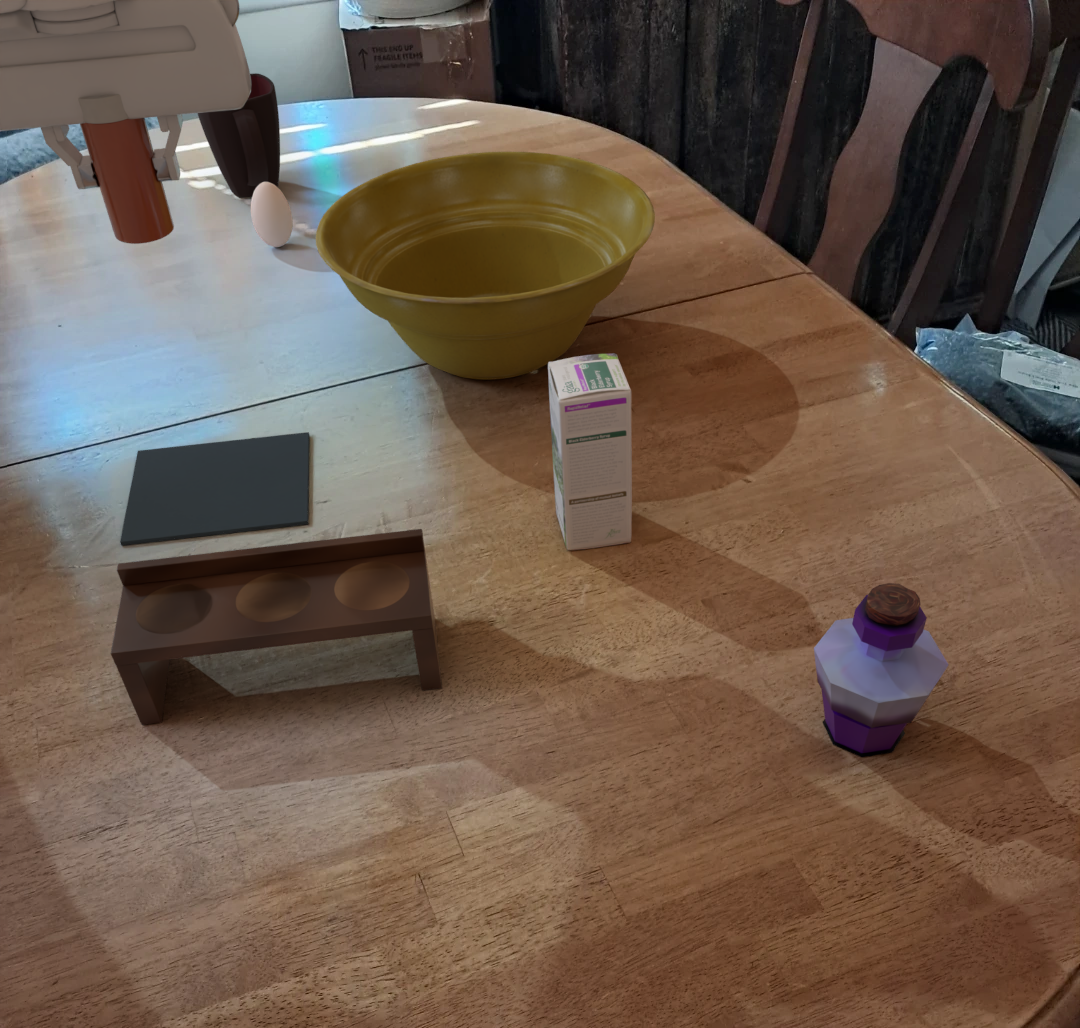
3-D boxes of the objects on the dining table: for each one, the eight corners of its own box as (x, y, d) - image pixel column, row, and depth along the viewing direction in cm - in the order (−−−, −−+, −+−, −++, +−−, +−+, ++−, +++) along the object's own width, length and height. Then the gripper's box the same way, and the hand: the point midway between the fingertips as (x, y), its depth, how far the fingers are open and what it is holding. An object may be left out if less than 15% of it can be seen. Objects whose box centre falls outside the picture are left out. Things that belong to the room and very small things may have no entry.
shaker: (110, 247, 85) (63, 101, 78) (117, 221, 88) (73, 78, 81) (172, 241, 85) (132, 95, 78) (178, 215, 88) (139, 72, 81)
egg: (271, 235, 140) (257, 172, 134) (304, 239, 138) (292, 176, 133) (251, 252, 137) (236, 188, 131) (285, 256, 135) (271, 193, 130)
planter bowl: (398, 467, 105) (377, 330, 95) (301, 315, 125) (275, 189, 115) (708, 380, 113) (718, 245, 103) (569, 250, 133) (566, 128, 124)
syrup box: (633, 543, 96) (636, 387, 85) (563, 553, 95) (558, 397, 85) (619, 503, 100) (620, 349, 89) (551, 512, 99) (545, 358, 89)
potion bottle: (927, 692, 83) (965, 561, 74) (927, 782, 77) (968, 652, 68) (805, 677, 84) (828, 546, 76) (796, 764, 79) (819, 634, 70)
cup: (284, 167, 154) (265, 69, 145) (307, 207, 145) (287, 105, 136) (210, 181, 152) (186, 82, 143) (228, 222, 143) (204, 119, 134)
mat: (121, 545, 98) (119, 542, 98) (138, 454, 108) (137, 450, 108) (308, 524, 99) (307, 520, 99) (309, 435, 109) (308, 431, 109)
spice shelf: (141, 725, 84) (103, 637, 77) (152, 650, 89) (117, 562, 83) (442, 688, 85) (428, 598, 79) (434, 617, 90) (421, 528, 84)
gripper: (230, -65, 77) (273, 152, 87) (-84, -39, 76) (-3, 178, 86) (224, -39, 72) (271, 185, 82) (-108, -11, 71) (-20, 213, 81)
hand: (129, 182), depth 84 cm, fingers closed on shaker, 4 cm apart
